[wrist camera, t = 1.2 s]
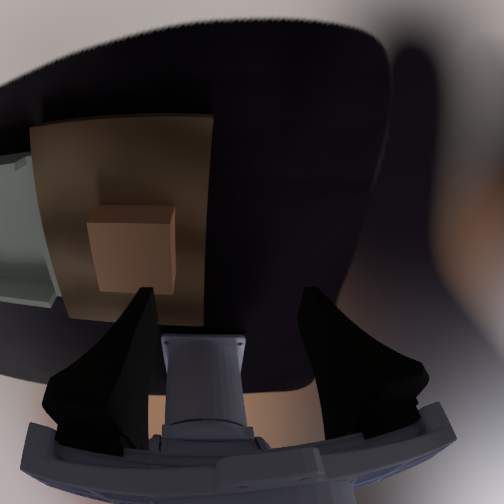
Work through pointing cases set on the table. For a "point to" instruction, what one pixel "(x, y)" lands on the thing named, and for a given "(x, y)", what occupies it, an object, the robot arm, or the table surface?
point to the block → (133, 247)
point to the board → (123, 200)
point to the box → (23, 237)
